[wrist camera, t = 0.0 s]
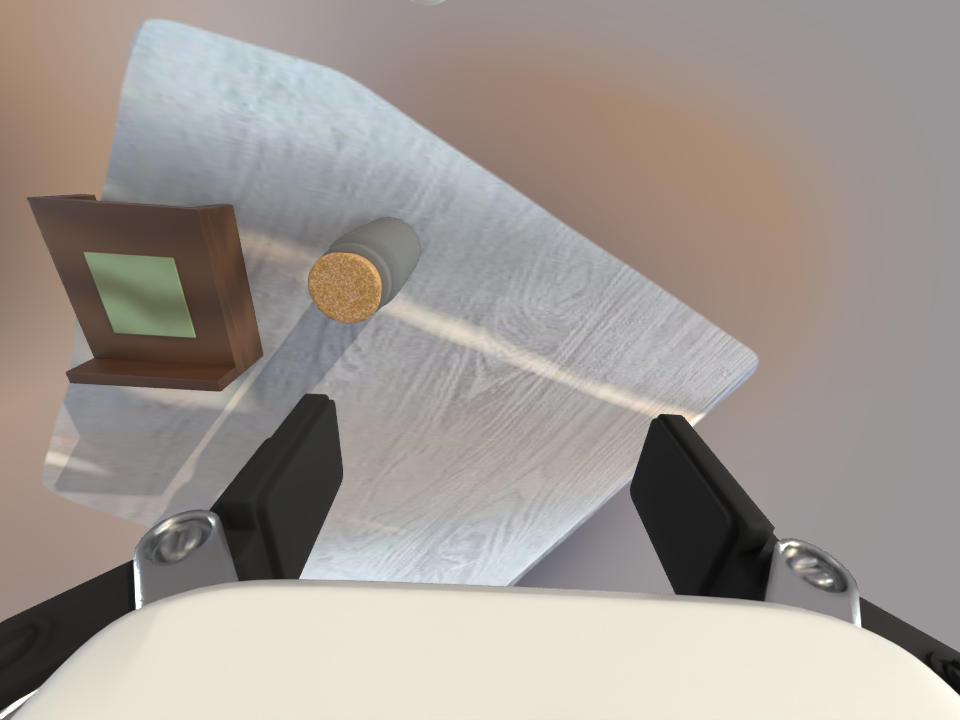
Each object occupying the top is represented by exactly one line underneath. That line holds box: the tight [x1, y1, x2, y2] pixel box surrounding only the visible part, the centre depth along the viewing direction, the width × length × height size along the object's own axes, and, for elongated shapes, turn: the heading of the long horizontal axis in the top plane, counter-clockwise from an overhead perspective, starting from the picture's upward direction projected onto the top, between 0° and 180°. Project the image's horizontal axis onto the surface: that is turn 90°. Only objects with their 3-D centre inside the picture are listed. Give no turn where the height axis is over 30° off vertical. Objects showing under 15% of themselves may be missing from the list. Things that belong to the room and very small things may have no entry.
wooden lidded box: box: [27, 194, 263, 392], centre depth 36 cm, size 16×14×8 cm
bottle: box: [308, 217, 420, 323], centre depth 32 cm, size 6×6×15 cm
